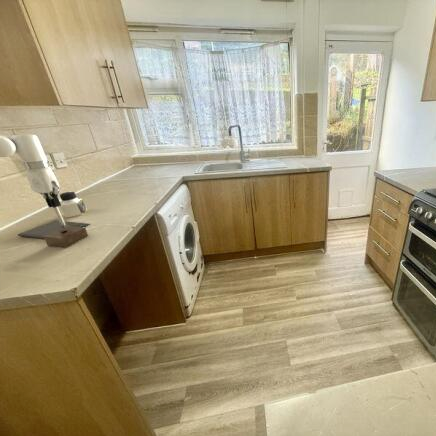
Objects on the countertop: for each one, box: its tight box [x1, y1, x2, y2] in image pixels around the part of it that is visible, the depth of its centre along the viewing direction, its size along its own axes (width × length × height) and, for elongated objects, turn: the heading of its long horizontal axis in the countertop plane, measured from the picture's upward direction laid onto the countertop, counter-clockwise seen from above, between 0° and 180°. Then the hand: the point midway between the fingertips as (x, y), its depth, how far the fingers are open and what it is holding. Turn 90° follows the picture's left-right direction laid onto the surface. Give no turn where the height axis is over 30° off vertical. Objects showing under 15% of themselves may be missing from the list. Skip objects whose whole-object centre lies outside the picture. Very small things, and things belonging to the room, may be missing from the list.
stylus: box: [48, 196, 65, 226], centre depth 110 cm, size 1×1×15 cm
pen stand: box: [43, 226, 89, 249], centre depth 99 cm, size 9×9×4 cm
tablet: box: [17, 219, 91, 240], centre depth 110 cm, size 15×22×1 cm
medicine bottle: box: [59, 191, 88, 218], centre depth 125 cm, size 7×7×12 cm
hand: (55, 206), depth 109 cm, fingers closed on stylus, 1 cm apart
